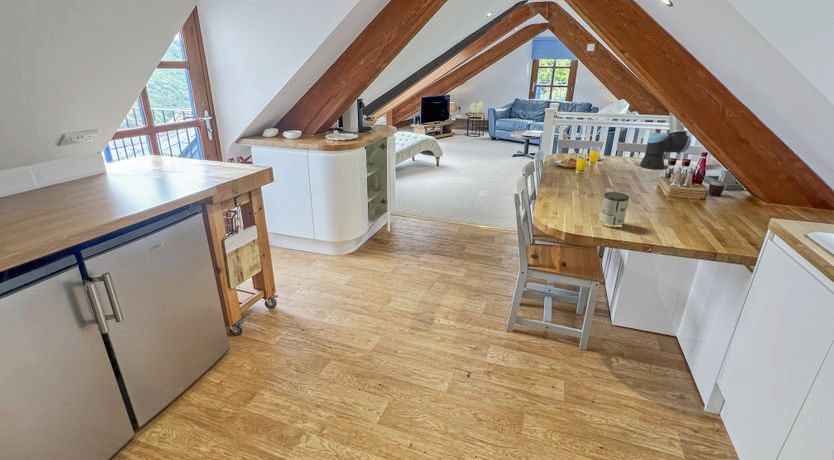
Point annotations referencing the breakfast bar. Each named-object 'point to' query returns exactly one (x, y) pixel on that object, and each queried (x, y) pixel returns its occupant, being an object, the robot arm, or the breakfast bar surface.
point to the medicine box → (727, 177)
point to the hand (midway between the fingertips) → (710, 130)
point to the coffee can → (614, 208)
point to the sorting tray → (727, 186)
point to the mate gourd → (716, 187)
